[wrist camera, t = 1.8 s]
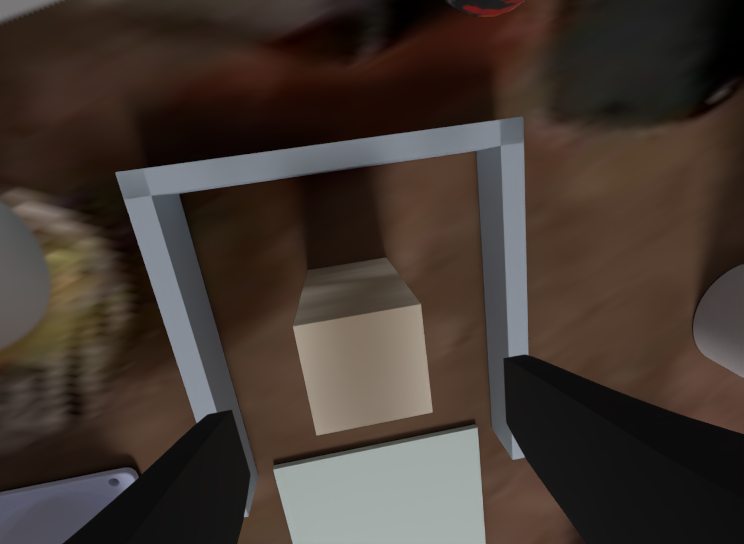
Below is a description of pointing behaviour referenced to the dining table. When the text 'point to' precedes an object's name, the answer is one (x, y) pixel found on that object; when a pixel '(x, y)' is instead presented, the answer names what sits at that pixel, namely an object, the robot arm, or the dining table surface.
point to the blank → (361, 346)
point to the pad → (388, 492)
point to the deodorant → (484, 6)
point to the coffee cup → (723, 321)
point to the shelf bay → (164, 183)
